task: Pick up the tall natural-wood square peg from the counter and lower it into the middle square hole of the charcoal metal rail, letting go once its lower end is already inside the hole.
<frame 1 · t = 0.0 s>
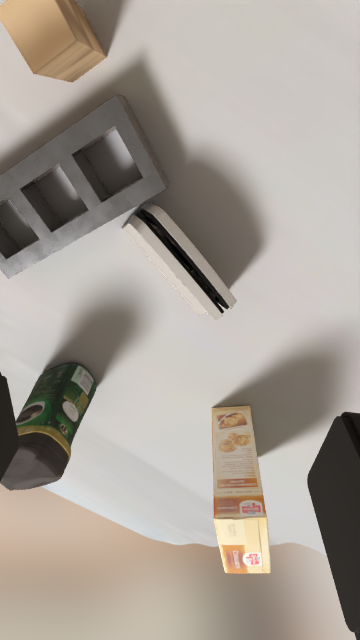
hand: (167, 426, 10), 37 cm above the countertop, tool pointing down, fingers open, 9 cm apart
peg: (76, 46, 36), on the countertop
coffee jar: (70, 380, 60), on the countertop
hinge: (182, 255, 47), on the countertop
rail: (66, 192, 43), on the countertop
coffeecake box: (233, 434, 64), on the countertop
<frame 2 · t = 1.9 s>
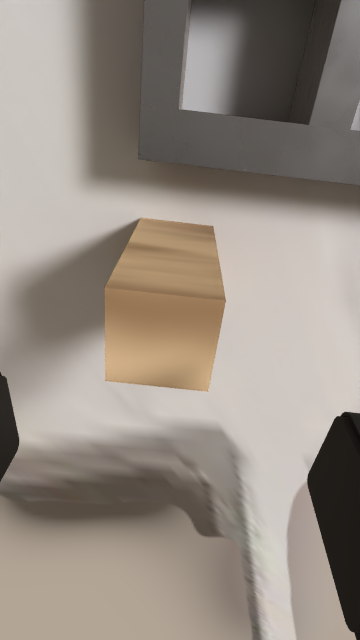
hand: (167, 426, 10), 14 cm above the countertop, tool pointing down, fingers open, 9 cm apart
peg: (173, 256, 22), on the countertop
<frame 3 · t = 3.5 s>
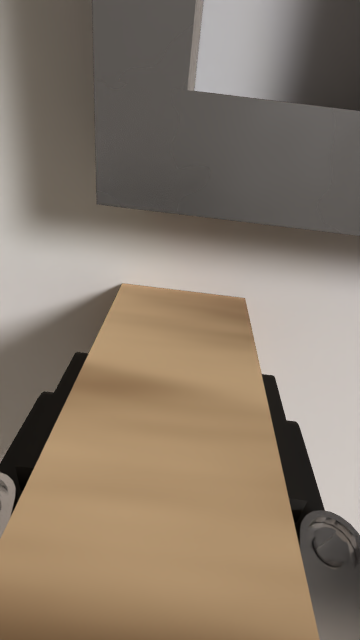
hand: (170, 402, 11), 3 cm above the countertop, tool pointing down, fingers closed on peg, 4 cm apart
peg: (177, 341, 14), on the countertop, touching gripper
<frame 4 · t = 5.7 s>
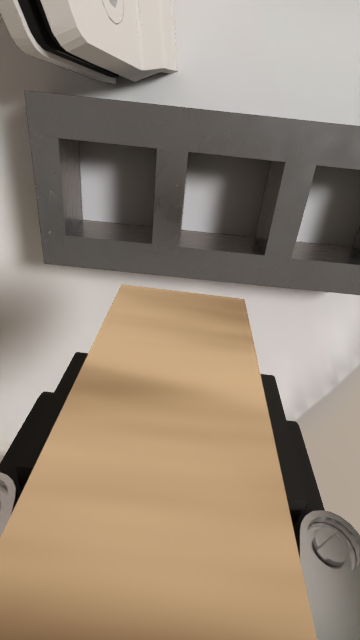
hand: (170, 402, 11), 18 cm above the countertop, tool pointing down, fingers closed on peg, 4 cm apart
peg: (176, 342, 14), point 15 cm above the countertop, touching gripper
rail: (224, 194, 25), on the countertop
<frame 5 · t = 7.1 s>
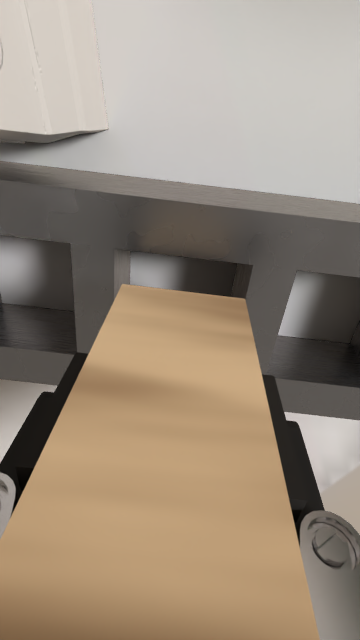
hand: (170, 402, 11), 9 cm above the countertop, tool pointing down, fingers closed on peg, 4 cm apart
peg: (177, 341, 14), point 6 cm above the countertop, touching gripper
rail: (181, 279, 19), on the countertop
when the fingers open (5 cm above the countertop, at t = 8.2 s): peg drops 2 cm, resting in rail.
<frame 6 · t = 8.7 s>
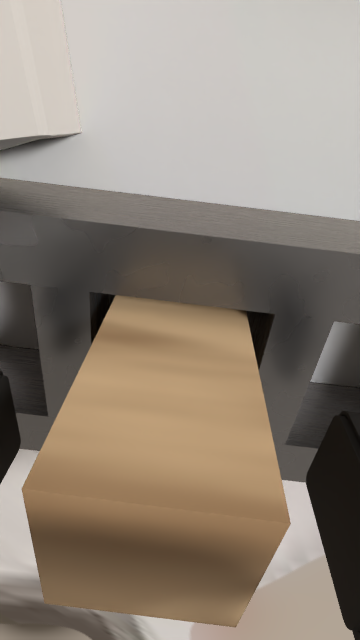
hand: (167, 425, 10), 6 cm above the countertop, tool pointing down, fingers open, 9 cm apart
peg: (178, 316, 15), resting in rail
rail: (180, 316, 15), on the countertop
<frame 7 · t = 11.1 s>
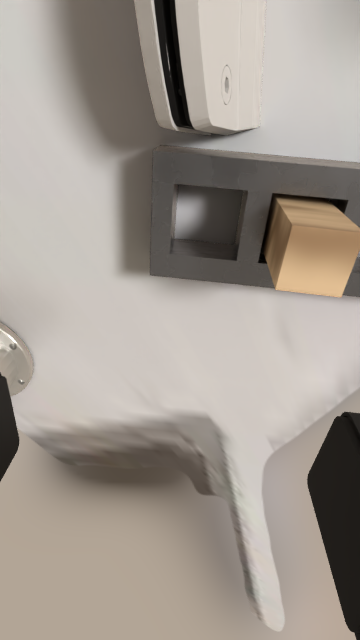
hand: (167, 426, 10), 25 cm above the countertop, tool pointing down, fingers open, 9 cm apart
peg: (290, 219, 31), resting in rail
rail: (291, 219, 31), on the countertop
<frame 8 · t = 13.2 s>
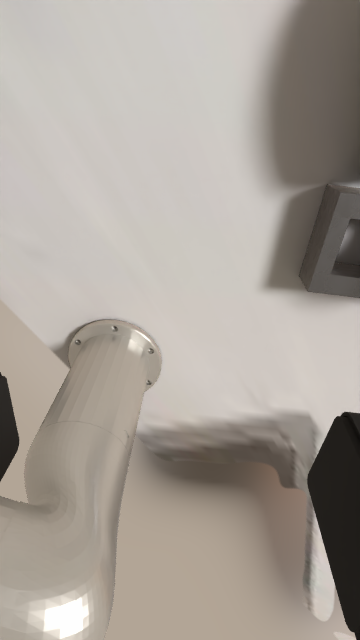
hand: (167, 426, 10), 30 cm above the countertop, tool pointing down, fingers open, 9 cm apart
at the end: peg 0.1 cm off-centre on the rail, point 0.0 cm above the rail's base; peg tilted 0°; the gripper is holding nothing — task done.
